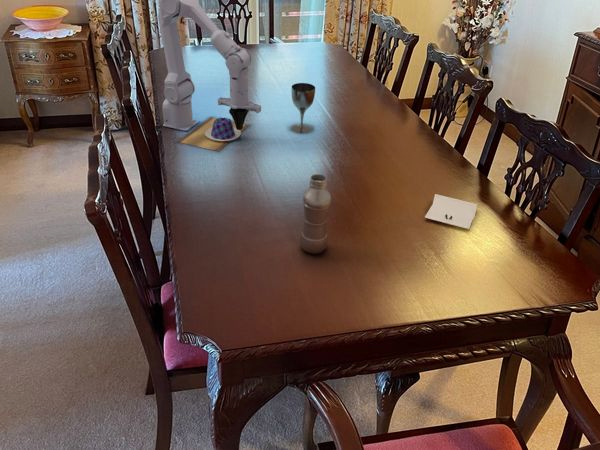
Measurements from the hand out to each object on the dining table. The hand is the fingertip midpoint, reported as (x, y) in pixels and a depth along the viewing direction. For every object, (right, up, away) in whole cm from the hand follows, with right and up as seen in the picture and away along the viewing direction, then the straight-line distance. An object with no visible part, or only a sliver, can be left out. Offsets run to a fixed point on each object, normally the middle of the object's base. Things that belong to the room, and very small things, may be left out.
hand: (239, 128), depth 182 cm
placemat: (-9, -1, +5) cm, 10 cm away
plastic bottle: (+23, -38, -46) cm, 64 cm away
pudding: (-6, -2, +4) cm, 7 cm away
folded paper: (+61, -29, -31) cm, 74 cm away
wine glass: (+20, +2, +11) cm, 23 cm away
